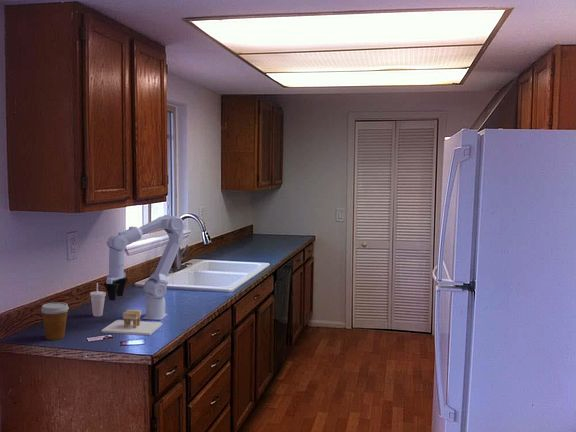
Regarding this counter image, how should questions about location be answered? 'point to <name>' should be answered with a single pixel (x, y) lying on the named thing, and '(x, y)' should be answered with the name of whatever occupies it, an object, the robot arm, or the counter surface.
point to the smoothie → (97, 302)
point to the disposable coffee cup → (54, 320)
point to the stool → (132, 315)
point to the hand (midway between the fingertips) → (116, 298)
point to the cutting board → (142, 329)
